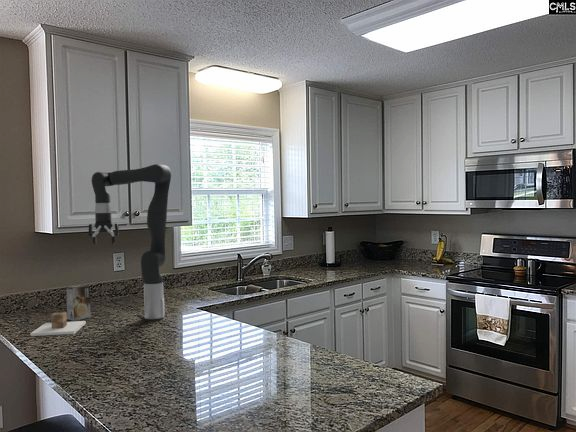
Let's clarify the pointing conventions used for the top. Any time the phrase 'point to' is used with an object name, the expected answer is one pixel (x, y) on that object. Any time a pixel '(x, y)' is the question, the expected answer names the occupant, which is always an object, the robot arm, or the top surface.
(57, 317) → the brown short block
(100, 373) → the top surface
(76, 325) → the cutting board
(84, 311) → the coffee box
